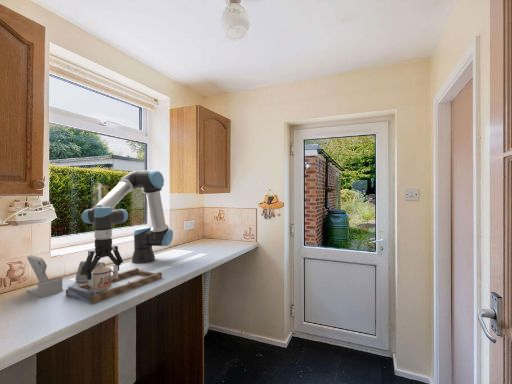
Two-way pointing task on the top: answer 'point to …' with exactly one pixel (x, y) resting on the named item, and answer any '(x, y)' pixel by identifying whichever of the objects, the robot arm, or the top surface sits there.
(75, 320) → the top surface
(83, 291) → the open rectangular wooden frame
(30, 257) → the phone holder
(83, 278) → the digital clock
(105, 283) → the teacup with lid
